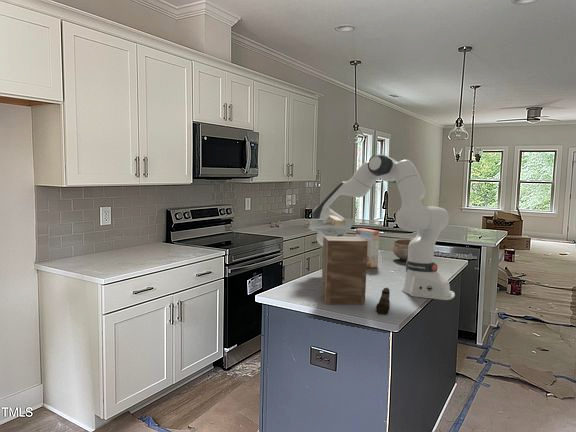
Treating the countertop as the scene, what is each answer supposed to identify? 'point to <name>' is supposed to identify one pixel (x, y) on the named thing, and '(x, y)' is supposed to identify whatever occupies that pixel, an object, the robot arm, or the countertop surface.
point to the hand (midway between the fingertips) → (333, 218)
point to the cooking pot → (401, 248)
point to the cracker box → (370, 245)
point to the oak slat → (336, 220)
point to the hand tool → (383, 302)
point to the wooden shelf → (344, 269)
